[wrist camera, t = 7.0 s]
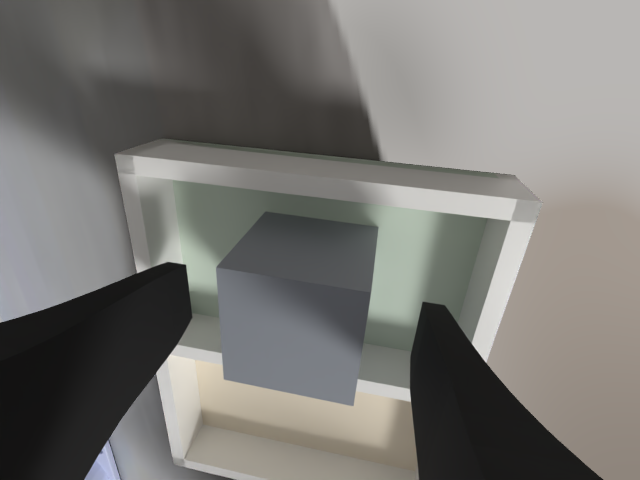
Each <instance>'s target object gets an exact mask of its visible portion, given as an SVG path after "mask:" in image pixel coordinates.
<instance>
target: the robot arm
mask: <svg viewBox="0 0 640 480" xmlns="http://www.w3.org/2000/svg"><path fill="white" fill-rule="evenodd" d="M192 318H193V317H192V309H191V301H190V293H189V284H188V276H187V268H186V265H185V264H179V263H172V262H166V263H163V264H160V265H157V266H154V267H152V268H149V269H147V270H144V271H142V272H139V273H137V274H134V275H132V276H130V277H127V278H125V279H122V280H120V281H118V282H115V283H113V284H110V285H108V286H105V287H103V288H101V289H98V290H96V291H93V292H90V293H88V294H85V295H82V296H80V297H77V298H75V299H72V300H69V301H67V302H64V303H62V304H59V305H56V306H53V307H50V308H47V309H44V310H41V311H38V312H35V313H32V314H28V315H25V316H22V317H19V318H16V319H12V320H9V321H5V322H1V323H0V480H120V477H119V473H118V470H117V467H116V463H115V460H114V457H113V454H112V450H111V447H110V444H109V441H108V439H109V438H110V436H111V435H112V433H113V431H114V430H115V428H116V427H117V425H118V423H119V422H120V420H121V419H122V417H123V416H124V415H125V413H126V412H127V410H128V409H129V408H130V406H131V405H132V403H133V402H134V401H135V400H136V398H137V397H138V396H139V394H140V393H141V392H142V390H143V389H144V388H145V387H146V385H147V384H148V383H149V381H150V380H151V379H152V377H153V376H154V375H155V374H156V372H157V371H158V370H159V368H160V367H161V366H162V364H163V363H164V362H165V360H166V359H167V358H168V357H169V355H170V354H171V353H172V351H173V350H174V348H175V347H176V346H177V344H178V343H179V341H180V339H181V337H182V336H183V334H184V332H185V331H186V329H187V327H188V325H189V323H190V321H191V319H192ZM410 396H411V406H412V416H413V425H414V435H415V444H416V453H417V463H418V474H419V480H603V479H602V478H601V477H599V476H598V475H597V474H596V473H595V472H594V471H592V470H591V469H590V468H589V467H588V466H586V465H585V464H584V463H583V462H582V461H581V460H580V459H579V458H577V457H576V456H575V455H574V454H573V453H572V452H571V451H570V450H568V449H567V448H566V447H565V446H564V445H563V444H562V443H561V442H559V441H558V440H557V439H556V438H555V437H554V436H553V435H552V434H551V433H550V432H549V431H548V430H547V429H546V428H545V427H544V426H543V425H542V424H541V423H540V422H539V421H538V420H537V419H536V418H535V417H534V416H533V415H532V414H531V413H530V412H529V411H528V410H527V409H526V408H525V407H524V406H523V405H522V404H521V403H520V402H519V401H518V400H517V399H516V398H515V396H514V395H513V394H512V393H511V392H510V391H509V390H508V389H507V388H506V386H505V385H504V384H503V383H502V382H501V380H500V379H499V378H498V377H497V376H496V375H495V374H494V372H493V371H492V370H491V369H490V367H489V366H488V365H487V363H486V362H485V361H484V359H483V358H482V357H481V355H480V354H479V353H478V351H477V350H476V349H475V347H474V346H473V345H472V343H471V342H470V341H469V339H468V338H467V336H466V335H465V333H464V332H463V331H462V329H461V328H460V326H459V325H458V323H457V322H456V320H455V319H454V317H453V316H452V314H451V313H450V311H449V310H448V309H447V307H446V306H445V305H441V304H435V303H429V302H422V307H421V311H420V316H419V320H418V324H417V329H416V333H415V338H414V342H413V347H412V351H411V356H410Z"/></svg>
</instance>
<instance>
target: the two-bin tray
mask: <svg viewBox="0 0 640 480" xmlns="http://www.w3.org/2000/svg"><path fill="white" fill-rule="evenodd" d="M114 155H115V161H116V166H117V171H118V176H119V182H120V187H121V192H122V197H123V202H124V208H125V213H126V218H127V223H128V228H129V234H130V239H131V244H132V249H133V254H134V260H135V265H136V270H137V273H139V272H142V271H144V270H147V269H149V268H152V267H154V266H157V265H160V264H163V263H166V262H172V263H179V264H185V265H186V268H187V276H188V284H189V293H190V301H191V309H192V317H193V318H192V319H191V321H190V323H189V325H188V327H187V329H186V331H185V332H184V334H183V336H182V337H181V339H180V341H179V343H178V344H177V346H176V347H175V348H174V350H173V351H172V353H171V354H170V355H169V357H168V358H167V359H166V360H165V362H164V363H163V364H162V366H161V367H160V368H159V370H158V371H157V372H156V374H157V379H158V385H159V390H160V395H161V400H162V405H163V411H164V416H165V421H166V426H167V431H168V437H169V442H170V447H171V452H172V458H173V463H174V465H178V466H182V467H186V468H190V469H194V470H198V471H203V472H207V473H211V474H215V475H219V476H223V477H228V478H232V479H236V480H419V474H418V463H417V453H416V444H415V435H414V425H413V416H412V406H411V396H410V356H411V351H412V347H413V342H414V338H415V333H416V329H417V324H418V320H419V316H420V311H421V307H422V302H429V303H435V304H441V305H445V306H446V307H447V309H448V310H449V311H450V313H451V314H452V316H453V317H454V319H455V320H456V322H457V323H458V325H459V326H460V328H461V329H462V331H463V332H464V333H465V335H466V336H467V338H468V339H469V341H470V342H471V343H472V345H473V346H474V347H475V349H476V350H477V351H478V353H479V354H480V355H481V357H482V358H483V359H484V361H485V362H487V359H488V356H489V353H490V350H491V347H492V344H493V342H494V339H495V336H496V333H497V330H498V328H499V325H500V322H501V319H502V316H503V313H504V310H505V308H506V305H507V302H508V299H509V296H510V293H511V291H512V288H513V285H514V282H515V279H516V276H517V274H518V271H519V268H520V265H521V262H522V259H523V257H524V254H525V251H526V248H527V245H528V242H529V239H530V237H531V234H532V231H533V228H534V225H535V222H536V219H537V217H538V214H539V211H540V208H541V206H542V203H543V202H542V201H541V200H540V199H539V198H538V197H537V196H536V195H535V194H533V192H532V191H531V190H530V189H528V188H527V187H526V186H525V185H524V184H523V183H522V182H521V181H520V180H519V179H518V178H517V177H516V176H515V175H507V174H498V173H489V172H478V171H469V170H460V169H451V168H441V167H432V166H421V165H413V164H402V163H393V162H384V161H374V160H365V159H355V158H346V157H336V156H327V155H317V154H307V153H298V152H288V151H279V150H269V149H260V148H250V147H241V146H231V145H221V144H212V143H202V142H193V141H183V140H174V139H164V138H161V139H158V140H155V141H152V142H149V143H145V144H142V145H139V146H136V147H133V148H130V149H127V150H124V151H120V152H117V153H114ZM265 211H266V212H273V213H280V214H288V215H295V216H302V217H309V218H317V219H324V220H331V221H339V222H346V223H353V224H360V225H368V226H375V227H379V228H378V237H377V246H376V255H375V264H374V273H373V282H372V290H371V297H370V304H369V310H368V317H367V323H366V329H365V336H364V342H363V349H362V355H361V361H360V368H359V374H358V380H357V387H356V393H355V400H354V406H349V405H344V404H340V403H335V402H330V401H325V400H320V399H315V398H311V397H306V396H301V395H296V394H291V393H286V392H281V391H277V390H272V389H267V388H262V387H257V386H252V385H248V384H243V383H238V382H233V381H228V380H224V376H223V362H222V348H221V334H220V319H219V305H218V291H217V277H216V267H217V265H218V264H219V263H220V262H221V261H222V260H223V259H224V258H225V256H226V255H227V254H228V253H229V252H230V251H231V250H232V249H233V247H234V246H235V245H236V244H237V243H238V242H239V241H240V240H241V238H242V237H243V236H244V235H245V234H246V233H247V232H248V231H249V229H250V228H251V227H252V226H253V225H254V224H255V223H256V221H257V220H258V219H259V218H260V217H261V216H262V215H263V214H264V212H265Z"/></svg>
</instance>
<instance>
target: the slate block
mask: <svg viewBox="0 0 640 480" xmlns="http://www.w3.org/2000/svg"><path fill="white" fill-rule="evenodd" d="M378 228H379V227H375V226H368V225H360V224H353V223H346V222H339V221H331V220H324V219H317V218H309V217H302V216H295V215H288V214H280V213H273V212H266V211H265V212H264V214H263V215H262V216H261V217H260V218H259V219H258V220H257V221H256V223H255V224H254V225H253V226H252V227H251V228H250V229H249V231H248V232H247V233H246V234H245V235H244V236H243V237H242V238H241V240H240V241H239V242H238V243H237V244H236V245H235V246H234V247H233V249H232V250H231V251H230V252H229V253H228V254H227V255H226V256H225V258H224V259H223V260H222V261H221V262H220V263H219V264H218V265H217V267H216V277H217V291H218V305H219V319H220V334H221V348H222V362H223V376H224V380H228V381H233V382H238V383H243V384H248V385H252V386H257V387H262V388H267V389H272V390H277V391H281V392H286V393H291V394H296V395H301V396H306V397H311V398H315V399H320V400H325V401H330V402H335V403H340V404H344V405H349V406H354V400H355V393H356V387H357V380H358V374H359V368H360V361H361V355H362V349H363V342H364V336H365V329H366V323H367V317H368V310H369V304H370V297H371V290H372V282H373V273H374V264H375V255H376V246H377V237H378Z"/></svg>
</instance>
